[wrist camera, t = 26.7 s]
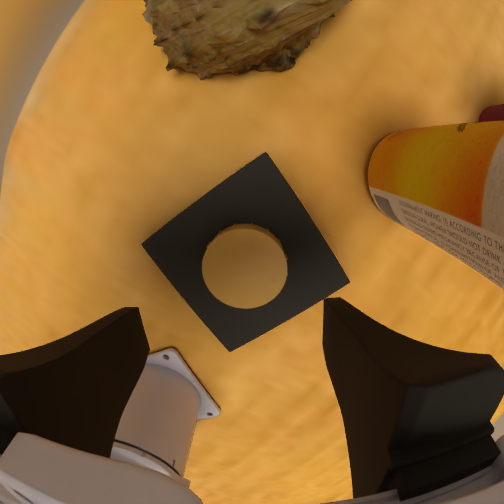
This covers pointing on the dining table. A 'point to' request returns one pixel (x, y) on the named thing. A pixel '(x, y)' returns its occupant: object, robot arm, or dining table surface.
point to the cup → (493, 114)
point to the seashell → (236, 32)
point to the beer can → (447, 189)
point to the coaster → (259, 213)
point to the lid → (245, 266)
